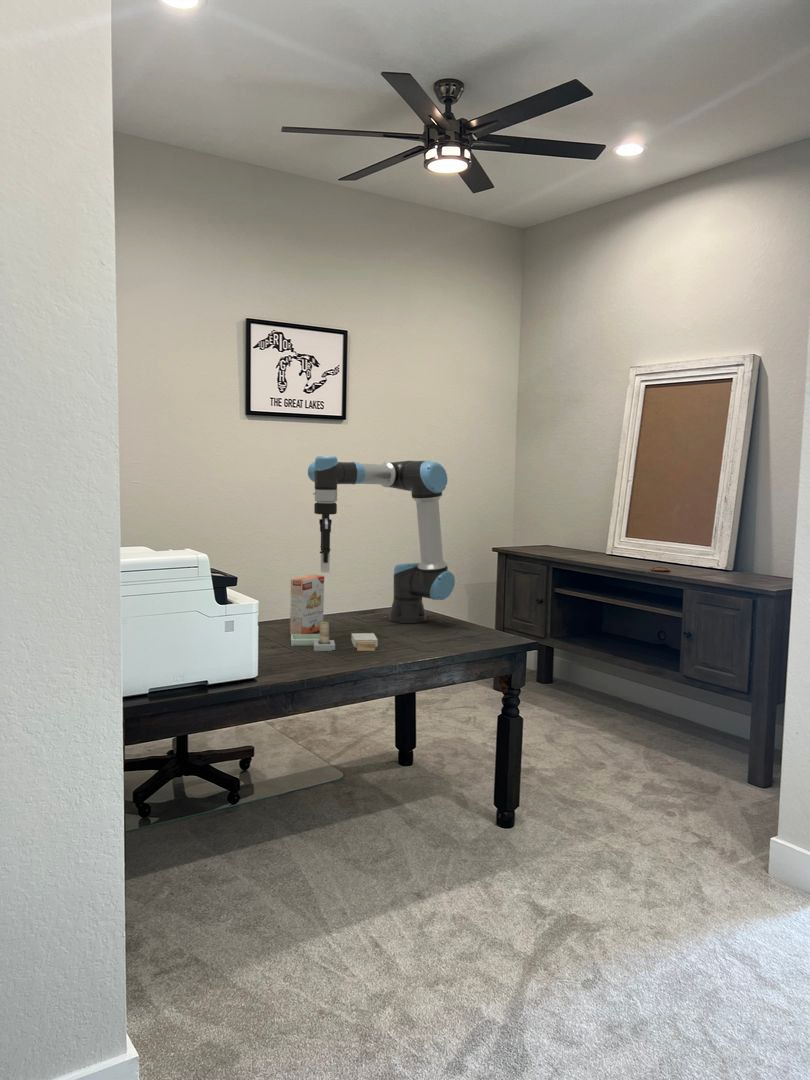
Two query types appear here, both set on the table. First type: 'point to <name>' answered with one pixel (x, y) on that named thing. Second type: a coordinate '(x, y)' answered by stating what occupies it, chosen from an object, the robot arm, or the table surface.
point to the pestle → (324, 632)
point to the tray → (304, 639)
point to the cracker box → (306, 604)
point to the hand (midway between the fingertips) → (324, 571)
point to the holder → (324, 646)
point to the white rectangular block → (363, 638)
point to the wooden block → (365, 645)
